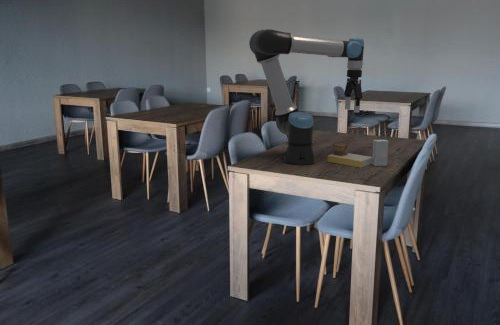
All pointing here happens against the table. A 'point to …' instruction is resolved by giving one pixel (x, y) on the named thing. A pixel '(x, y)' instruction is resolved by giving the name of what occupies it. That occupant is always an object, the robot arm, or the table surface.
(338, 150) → the brown wooden cube
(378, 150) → the skincare box
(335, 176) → the table surface
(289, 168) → the table surface
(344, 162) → the dock
